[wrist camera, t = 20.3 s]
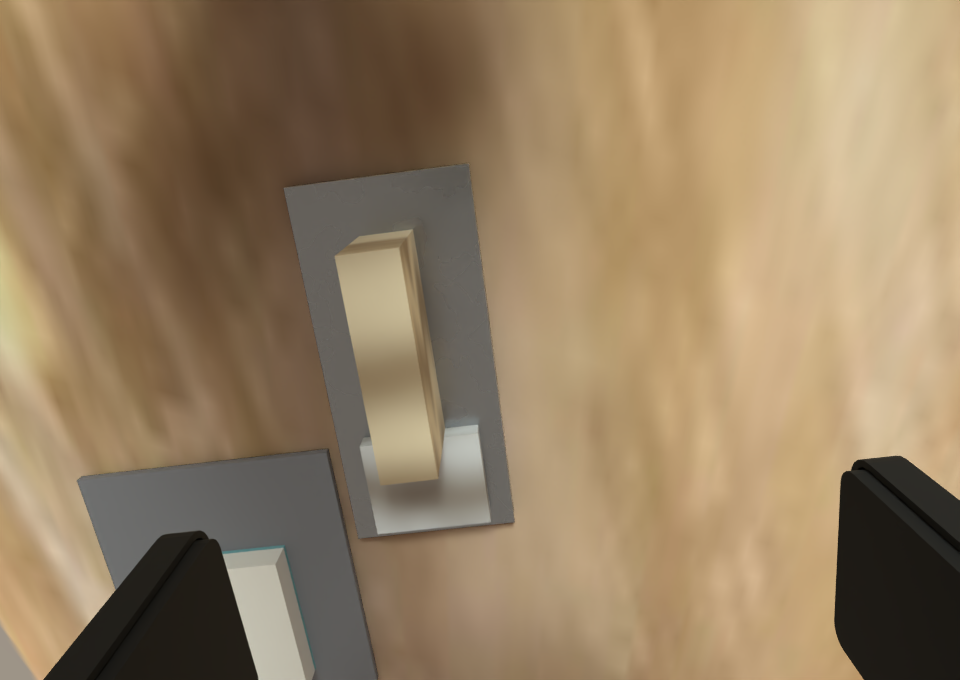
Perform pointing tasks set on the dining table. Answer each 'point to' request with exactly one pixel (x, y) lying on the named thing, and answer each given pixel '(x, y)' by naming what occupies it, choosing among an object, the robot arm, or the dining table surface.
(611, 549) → the dining table surface
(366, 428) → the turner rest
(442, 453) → the tan bar with plate
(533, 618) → the dining table surface
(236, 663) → the robot arm
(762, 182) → the dining table surface
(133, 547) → the mat
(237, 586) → the tile
